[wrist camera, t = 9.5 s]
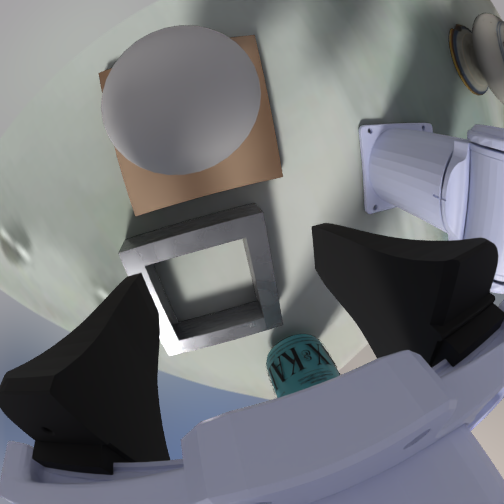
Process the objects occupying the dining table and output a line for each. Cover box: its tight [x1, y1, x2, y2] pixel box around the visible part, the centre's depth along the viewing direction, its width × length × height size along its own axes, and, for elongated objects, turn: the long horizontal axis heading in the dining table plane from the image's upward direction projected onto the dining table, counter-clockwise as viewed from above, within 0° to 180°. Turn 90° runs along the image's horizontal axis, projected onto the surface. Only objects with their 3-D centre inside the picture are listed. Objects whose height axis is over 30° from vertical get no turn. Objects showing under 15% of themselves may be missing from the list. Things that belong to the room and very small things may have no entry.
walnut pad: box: [99, 35, 283, 216], centre depth 17 cm, size 11×11×1 cm
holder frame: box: [118, 203, 283, 356], centre depth 22 cm, size 10×10×2 cm
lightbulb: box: [101, 25, 261, 175], centre depth 11 cm, size 6×6×11 cm
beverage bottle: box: [266, 334, 340, 398], centre depth 20 cm, size 6×7×20 cm
